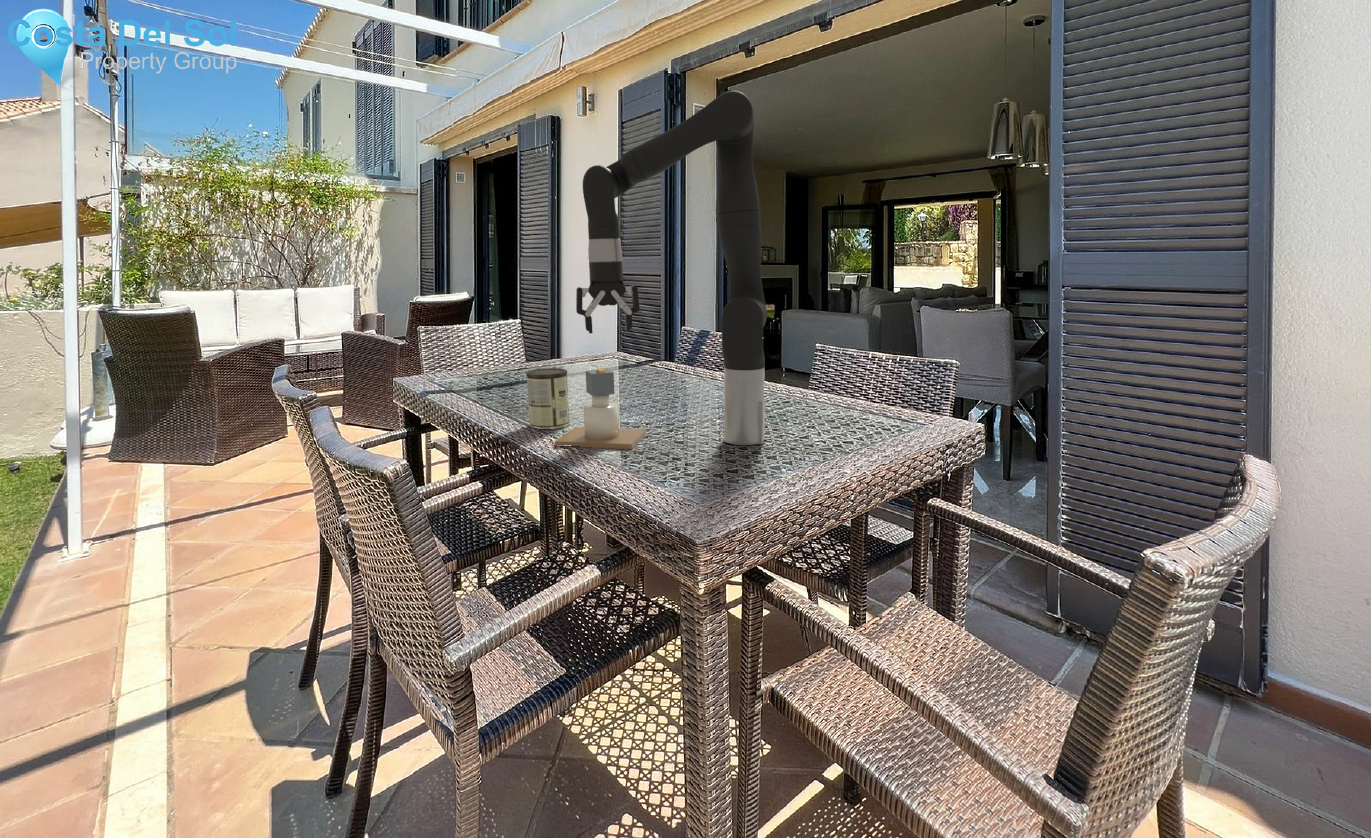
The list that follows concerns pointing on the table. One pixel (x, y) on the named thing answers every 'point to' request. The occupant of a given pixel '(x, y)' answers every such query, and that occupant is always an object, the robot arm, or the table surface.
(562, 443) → the board with white bottle
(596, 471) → the table surface
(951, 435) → the table surface
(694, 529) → the table surface
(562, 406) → the coffee can
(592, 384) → the grey cube with tab
